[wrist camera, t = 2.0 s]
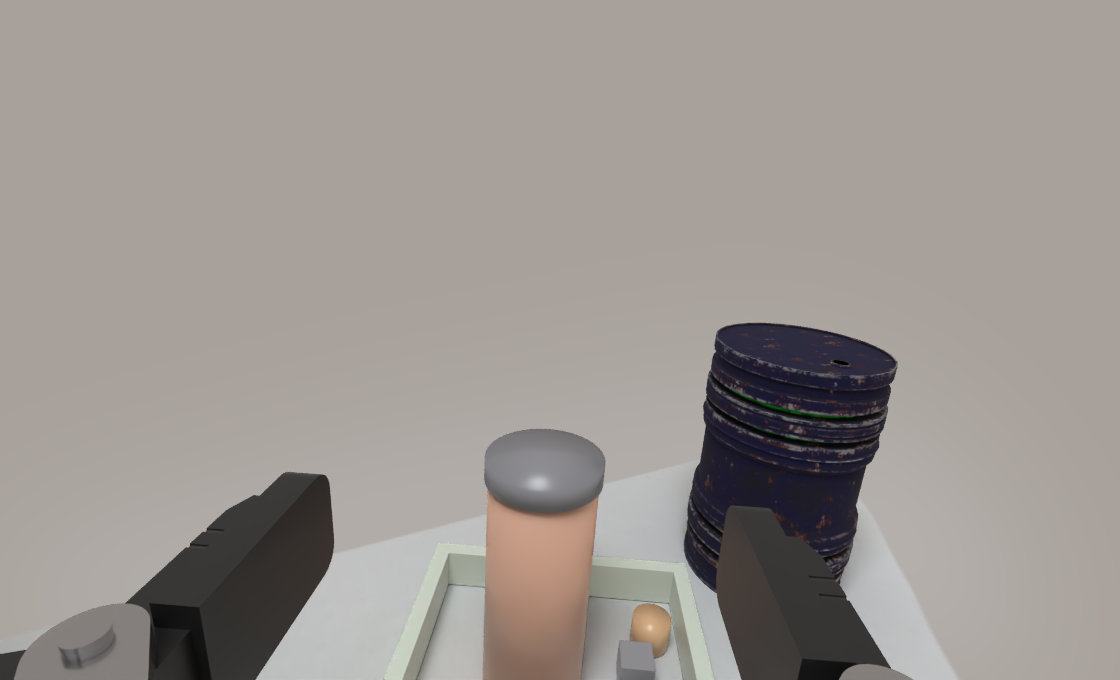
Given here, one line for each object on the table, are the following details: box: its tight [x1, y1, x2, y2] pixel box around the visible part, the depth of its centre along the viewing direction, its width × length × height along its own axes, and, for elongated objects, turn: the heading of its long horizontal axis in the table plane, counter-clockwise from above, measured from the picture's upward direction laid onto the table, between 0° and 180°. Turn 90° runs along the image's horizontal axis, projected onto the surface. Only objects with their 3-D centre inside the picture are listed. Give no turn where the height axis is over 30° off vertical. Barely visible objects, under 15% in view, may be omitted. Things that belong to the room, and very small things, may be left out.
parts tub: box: [384, 543, 714, 680], centre depth 26 cm, size 15×13×2 cm
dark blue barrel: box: [684, 323, 897, 593], centre depth 34 cm, size 10×10×15 cm
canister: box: [483, 429, 605, 680], centre depth 25 cm, size 5×5×12 cm
